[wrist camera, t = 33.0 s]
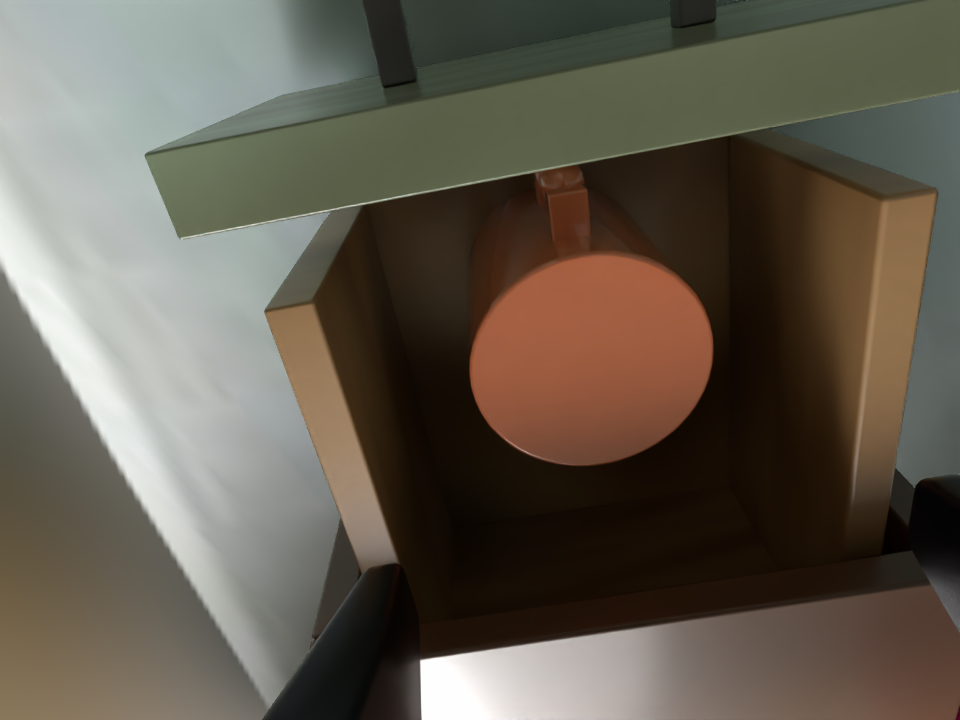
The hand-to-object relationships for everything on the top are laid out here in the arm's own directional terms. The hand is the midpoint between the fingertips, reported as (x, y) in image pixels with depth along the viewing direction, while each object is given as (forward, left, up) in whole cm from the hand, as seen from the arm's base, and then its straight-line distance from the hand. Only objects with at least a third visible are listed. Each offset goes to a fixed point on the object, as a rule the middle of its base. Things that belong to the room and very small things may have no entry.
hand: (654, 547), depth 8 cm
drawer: (0, -1, -10) cm, 10 cm away
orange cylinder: (0, 0, -9) cm, 9 cm away
